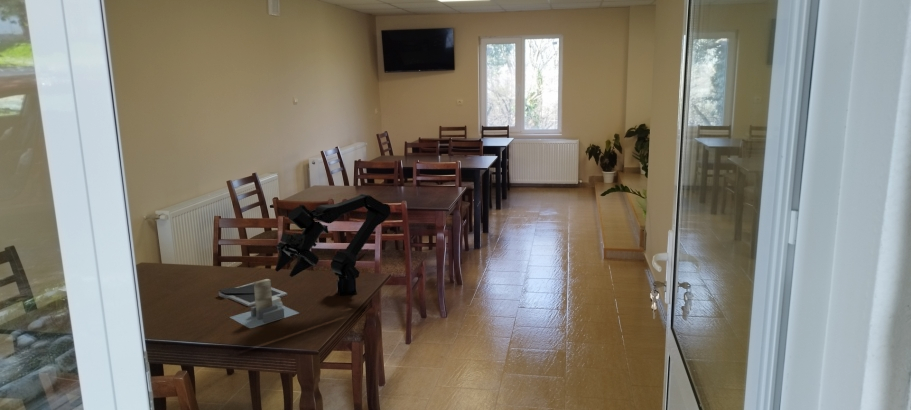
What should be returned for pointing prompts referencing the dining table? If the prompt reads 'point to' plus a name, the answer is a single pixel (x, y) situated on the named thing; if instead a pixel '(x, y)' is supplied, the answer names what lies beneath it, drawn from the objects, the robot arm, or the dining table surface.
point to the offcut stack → (276, 301)
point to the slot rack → (263, 315)
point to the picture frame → (246, 294)
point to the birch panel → (262, 294)
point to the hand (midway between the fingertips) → (283, 273)
